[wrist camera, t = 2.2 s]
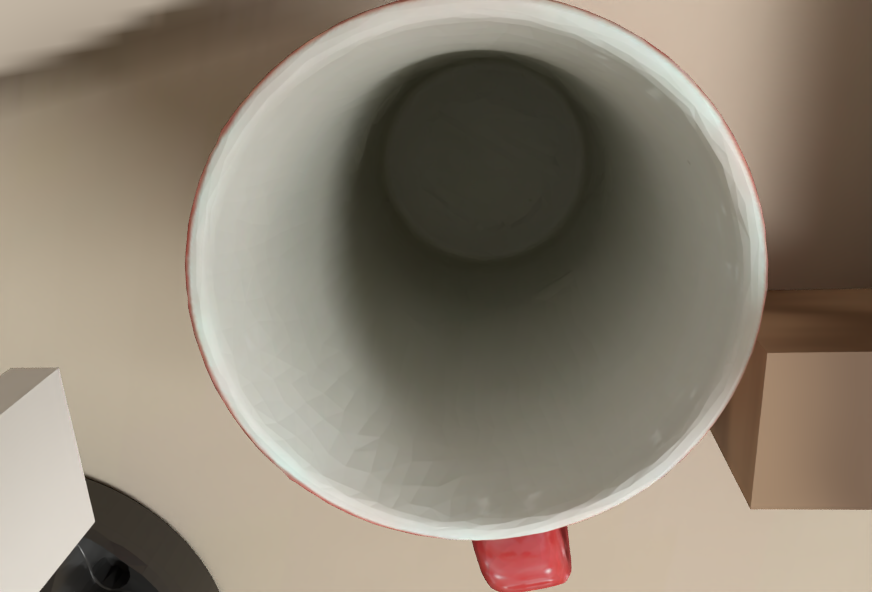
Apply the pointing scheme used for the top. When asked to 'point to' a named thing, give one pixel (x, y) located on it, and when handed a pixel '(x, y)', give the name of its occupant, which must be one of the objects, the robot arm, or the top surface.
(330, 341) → the mug
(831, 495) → the cube
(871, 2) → the top surface
